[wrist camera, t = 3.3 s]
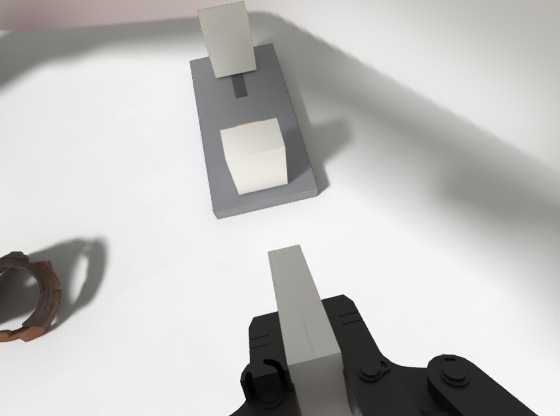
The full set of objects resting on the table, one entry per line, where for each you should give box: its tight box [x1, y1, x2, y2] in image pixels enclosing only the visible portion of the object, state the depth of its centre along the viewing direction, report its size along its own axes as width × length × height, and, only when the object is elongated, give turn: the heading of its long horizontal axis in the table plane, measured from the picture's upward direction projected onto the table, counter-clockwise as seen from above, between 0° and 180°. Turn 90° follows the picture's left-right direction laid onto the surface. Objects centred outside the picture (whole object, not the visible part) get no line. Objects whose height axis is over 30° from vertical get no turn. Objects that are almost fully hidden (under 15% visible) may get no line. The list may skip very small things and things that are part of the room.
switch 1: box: [198, 1, 257, 78], centre depth 41 cm, size 4×6×7 cm, turn 103°
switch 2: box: [220, 118, 288, 195], centre depth 34 cm, size 4×6×7 cm, turn 103°
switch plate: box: [190, 44, 318, 219], centre depth 43 cm, size 27×12×2 cm, turn 13°
